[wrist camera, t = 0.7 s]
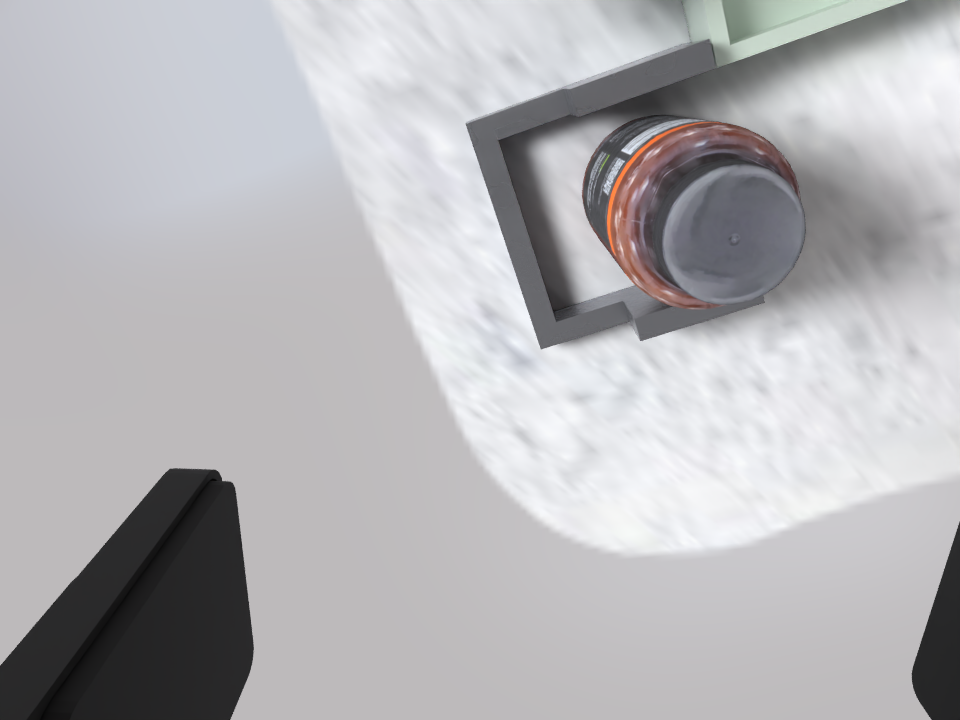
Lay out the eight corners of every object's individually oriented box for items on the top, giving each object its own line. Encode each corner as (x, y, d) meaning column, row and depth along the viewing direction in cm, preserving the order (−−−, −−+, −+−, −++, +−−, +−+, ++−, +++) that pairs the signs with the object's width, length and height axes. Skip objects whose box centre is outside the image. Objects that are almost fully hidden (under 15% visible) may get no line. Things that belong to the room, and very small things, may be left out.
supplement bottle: (720, 247, 31) (838, 331, 21) (584, 263, 32) (631, 353, 21) (720, 103, 29) (851, 115, 19) (574, 122, 29) (621, 143, 19)
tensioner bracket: (680, 44, 28) (709, 38, 25) (732, 276, 32) (764, 302, 28) (466, 122, 29) (463, 127, 26) (538, 338, 33) (545, 370, 29)
